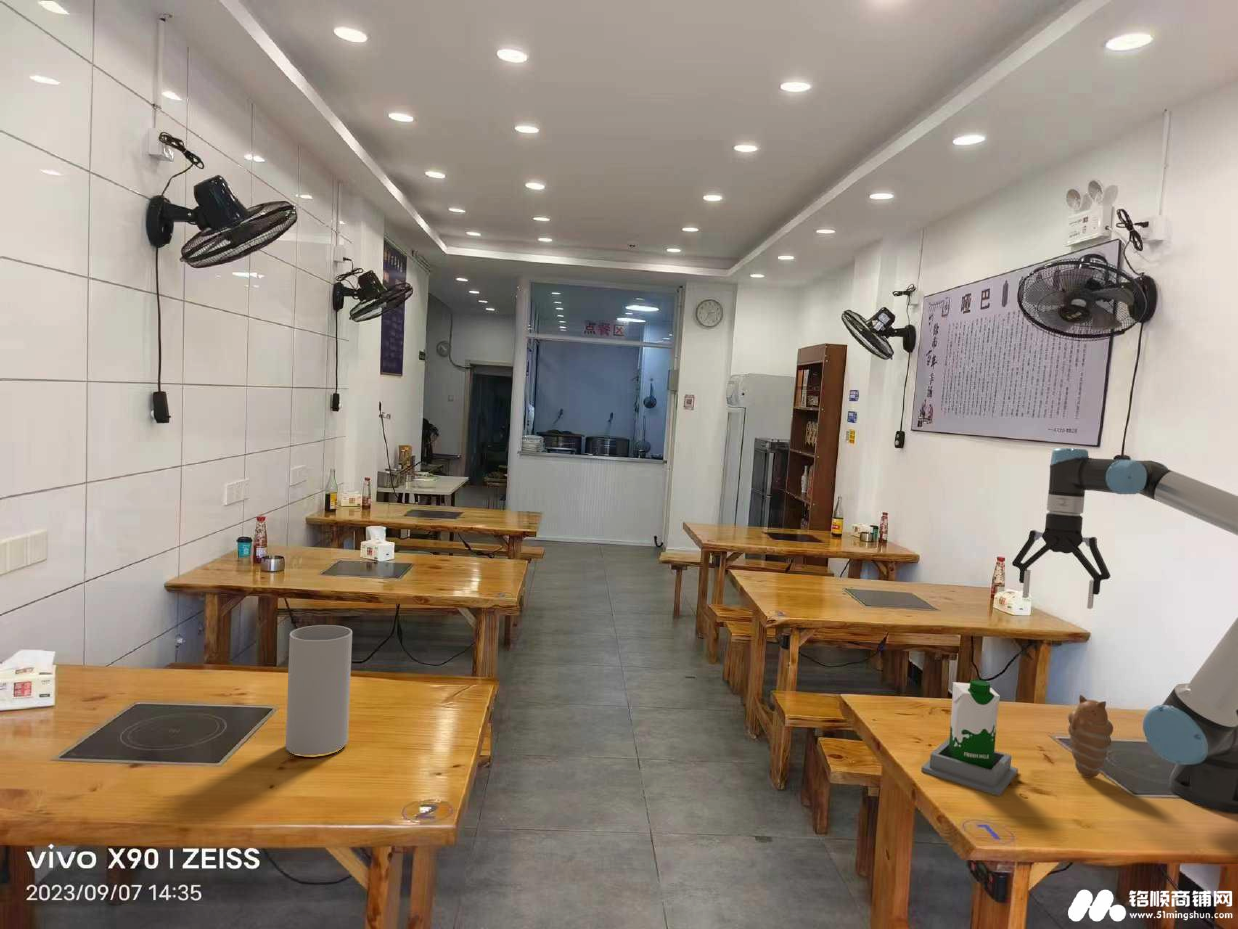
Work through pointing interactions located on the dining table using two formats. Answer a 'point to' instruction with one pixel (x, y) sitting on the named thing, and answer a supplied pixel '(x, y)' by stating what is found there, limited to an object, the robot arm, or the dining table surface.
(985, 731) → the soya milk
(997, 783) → the dock
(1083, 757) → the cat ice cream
